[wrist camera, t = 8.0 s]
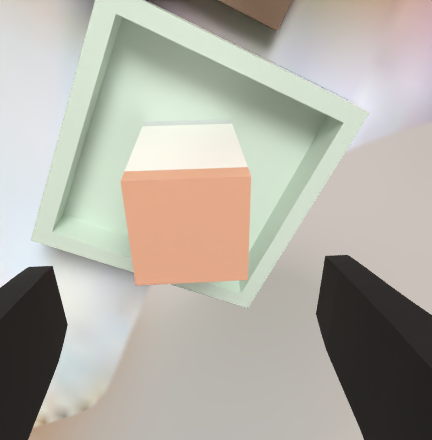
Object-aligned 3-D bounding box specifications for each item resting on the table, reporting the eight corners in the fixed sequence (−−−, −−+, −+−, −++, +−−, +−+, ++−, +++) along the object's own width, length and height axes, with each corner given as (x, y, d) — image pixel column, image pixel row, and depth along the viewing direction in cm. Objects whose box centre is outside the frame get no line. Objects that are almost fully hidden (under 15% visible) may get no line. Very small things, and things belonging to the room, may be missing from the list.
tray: (348, 100, 19) (369, 113, 16) (242, 280, 23) (247, 308, 21) (113, -17, 16) (100, -21, 14) (47, 215, 21) (30, 240, 18)
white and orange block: (230, 119, 18) (251, 176, 12) (230, 196, 20) (247, 280, 14) (144, 121, 18) (120, 181, 12) (152, 199, 20) (135, 285, 14)
